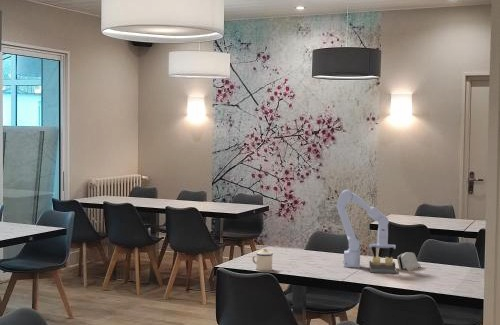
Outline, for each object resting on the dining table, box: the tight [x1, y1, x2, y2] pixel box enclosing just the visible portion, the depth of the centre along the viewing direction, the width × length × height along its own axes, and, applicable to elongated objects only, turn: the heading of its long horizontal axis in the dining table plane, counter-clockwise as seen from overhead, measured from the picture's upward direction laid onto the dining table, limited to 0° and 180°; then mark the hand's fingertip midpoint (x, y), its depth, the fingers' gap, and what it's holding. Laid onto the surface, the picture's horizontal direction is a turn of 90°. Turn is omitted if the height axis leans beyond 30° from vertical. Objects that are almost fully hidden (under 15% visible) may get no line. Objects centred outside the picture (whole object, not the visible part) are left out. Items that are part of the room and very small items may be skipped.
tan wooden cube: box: [384, 256, 394, 266], centre depth 379 cm, size 4×4×4 cm
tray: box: [369, 266, 397, 275], centre depth 371 cm, size 14×10×2 cm
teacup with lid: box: [251, 247, 273, 272], centre depth 371 cm, size 12×9×12 cm
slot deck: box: [368, 260, 396, 269], centre depth 381 cm, size 14×9×3 cm, turn 81°
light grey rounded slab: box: [396, 251, 421, 271], centre depth 384 cm, size 17×5×10 cm, turn 139°
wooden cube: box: [371, 255, 381, 265], centre depth 380 cm, size 4×4×4 cm
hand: (382, 260), depth 383 cm, fingers open, 7 cm apart
